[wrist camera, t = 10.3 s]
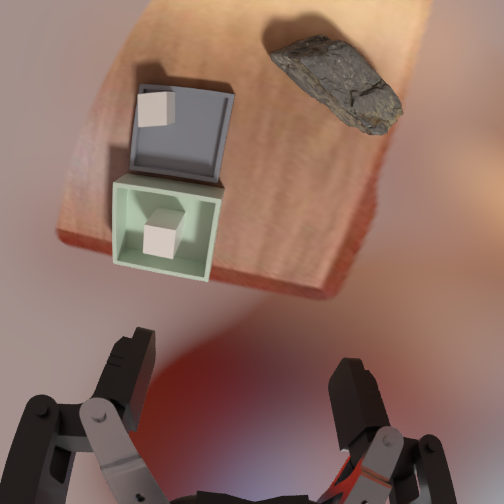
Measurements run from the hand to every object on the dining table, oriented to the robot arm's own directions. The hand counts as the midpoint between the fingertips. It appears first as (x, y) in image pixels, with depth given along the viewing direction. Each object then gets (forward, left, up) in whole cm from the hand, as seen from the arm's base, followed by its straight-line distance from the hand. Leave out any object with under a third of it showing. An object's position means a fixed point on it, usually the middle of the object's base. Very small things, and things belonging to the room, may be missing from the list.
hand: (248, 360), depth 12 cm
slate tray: (-4, -10, -30) cm, 32 cm away
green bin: (+9, -10, -30) cm, 33 cm away
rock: (-15, +8, -30) cm, 35 cm away
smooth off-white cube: (-7, -13, -29) cm, 33 cm away
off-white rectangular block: (+9, -10, -29) cm, 32 cm away
